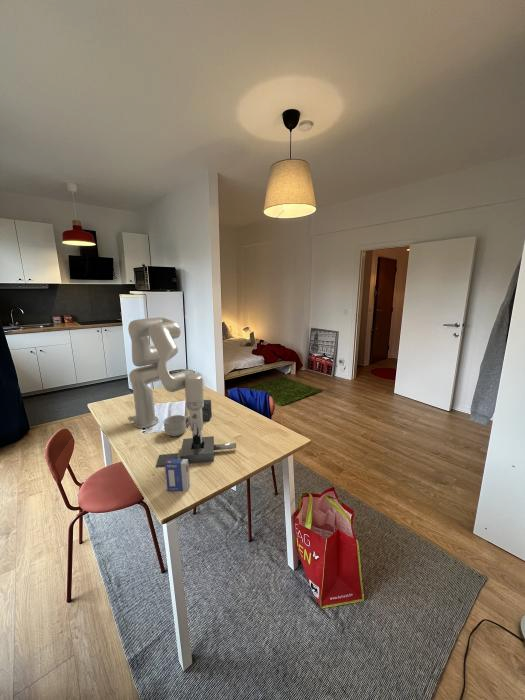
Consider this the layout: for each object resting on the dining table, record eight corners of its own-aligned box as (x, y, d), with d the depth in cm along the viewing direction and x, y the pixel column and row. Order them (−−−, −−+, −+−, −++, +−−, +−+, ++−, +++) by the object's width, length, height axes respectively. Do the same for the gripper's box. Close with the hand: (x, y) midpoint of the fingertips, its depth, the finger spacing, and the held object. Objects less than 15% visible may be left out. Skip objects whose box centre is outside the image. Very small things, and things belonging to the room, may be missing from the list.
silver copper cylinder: (202, 451, 128) (200, 426, 125) (193, 452, 127) (191, 427, 124) (202, 446, 132) (201, 422, 129) (193, 447, 131) (192, 423, 128)
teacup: (166, 440, 140) (165, 425, 138) (163, 431, 150) (161, 416, 148) (194, 434, 146) (193, 419, 145) (189, 425, 156) (188, 411, 154)
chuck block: (180, 464, 122) (179, 456, 121) (184, 446, 135) (183, 438, 134) (237, 458, 125) (237, 450, 125) (235, 441, 139) (234, 434, 138)
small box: (212, 416, 166) (211, 399, 163) (209, 421, 160) (208, 404, 157) (194, 415, 167) (193, 398, 164) (190, 420, 161) (189, 403, 158)
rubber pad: (155, 467, 120) (155, 465, 120) (159, 456, 128) (159, 454, 128) (175, 465, 121) (175, 463, 121) (178, 454, 129) (177, 453, 129)
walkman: (167, 491, 106) (164, 462, 103) (169, 486, 109) (167, 458, 106) (188, 491, 106) (186, 462, 103) (190, 486, 109) (188, 458, 106)
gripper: (203, 410, 117) (205, 451, 121) (204, 395, 133) (206, 431, 137) (184, 412, 115) (186, 452, 120) (187, 396, 132) (190, 432, 136)
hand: (197, 440), depth 128 cm, fingers closed on silver copper cylinder, 4 cm apart
